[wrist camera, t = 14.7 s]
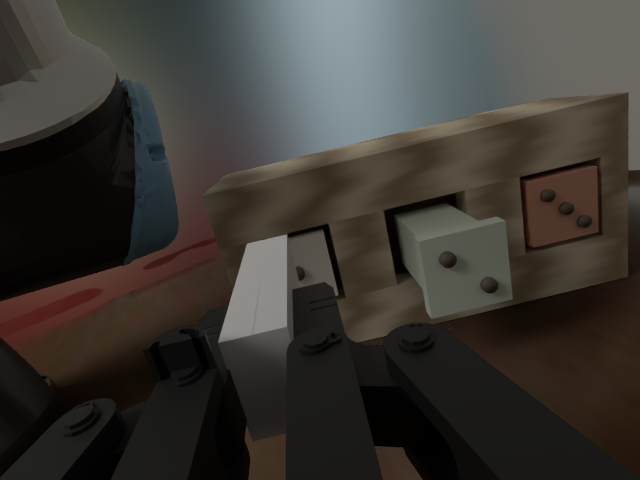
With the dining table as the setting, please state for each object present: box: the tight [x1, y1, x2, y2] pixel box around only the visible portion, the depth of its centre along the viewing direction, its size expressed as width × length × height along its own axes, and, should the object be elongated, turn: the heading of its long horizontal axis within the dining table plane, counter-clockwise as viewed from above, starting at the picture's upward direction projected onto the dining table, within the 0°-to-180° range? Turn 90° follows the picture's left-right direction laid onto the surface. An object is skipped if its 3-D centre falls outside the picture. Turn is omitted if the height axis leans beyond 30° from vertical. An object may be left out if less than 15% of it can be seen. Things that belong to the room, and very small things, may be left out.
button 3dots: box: [519, 165, 599, 248], centre depth 33 cm, size 5×8×5 cm, turn 5°
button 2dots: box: [394, 203, 513, 319], centre depth 27 cm, size 5×8×5 cm, turn 5°
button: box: [267, 227, 338, 296], centre depth 33 cm, size 5×8×5 cm, turn 5°
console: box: [202, 93, 628, 343], centre depth 35 cm, size 30×10×14 cm, turn 95°
